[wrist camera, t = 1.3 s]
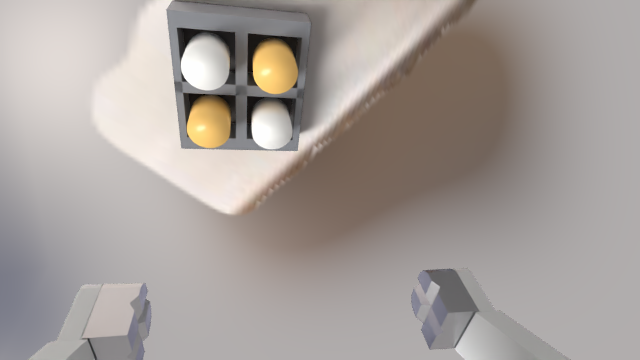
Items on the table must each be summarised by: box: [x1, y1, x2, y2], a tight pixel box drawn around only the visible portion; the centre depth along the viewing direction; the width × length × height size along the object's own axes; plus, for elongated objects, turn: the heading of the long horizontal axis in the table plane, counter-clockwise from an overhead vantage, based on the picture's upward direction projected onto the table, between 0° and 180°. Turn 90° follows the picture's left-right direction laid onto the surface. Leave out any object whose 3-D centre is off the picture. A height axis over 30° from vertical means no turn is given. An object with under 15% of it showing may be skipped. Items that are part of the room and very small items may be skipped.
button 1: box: [187, 95, 231, 148], centre depth 27 cm, size 3×3×3 cm
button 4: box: [253, 38, 298, 94], centre depth 25 cm, size 3×3×3 cm
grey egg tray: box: [167, 1, 311, 151], centre depth 28 cm, size 10×9×2 cm
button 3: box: [181, 32, 230, 90], centre depth 25 cm, size 3×3×3 cm
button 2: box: [251, 98, 292, 149], centre depth 28 cm, size 3×3×3 cm
